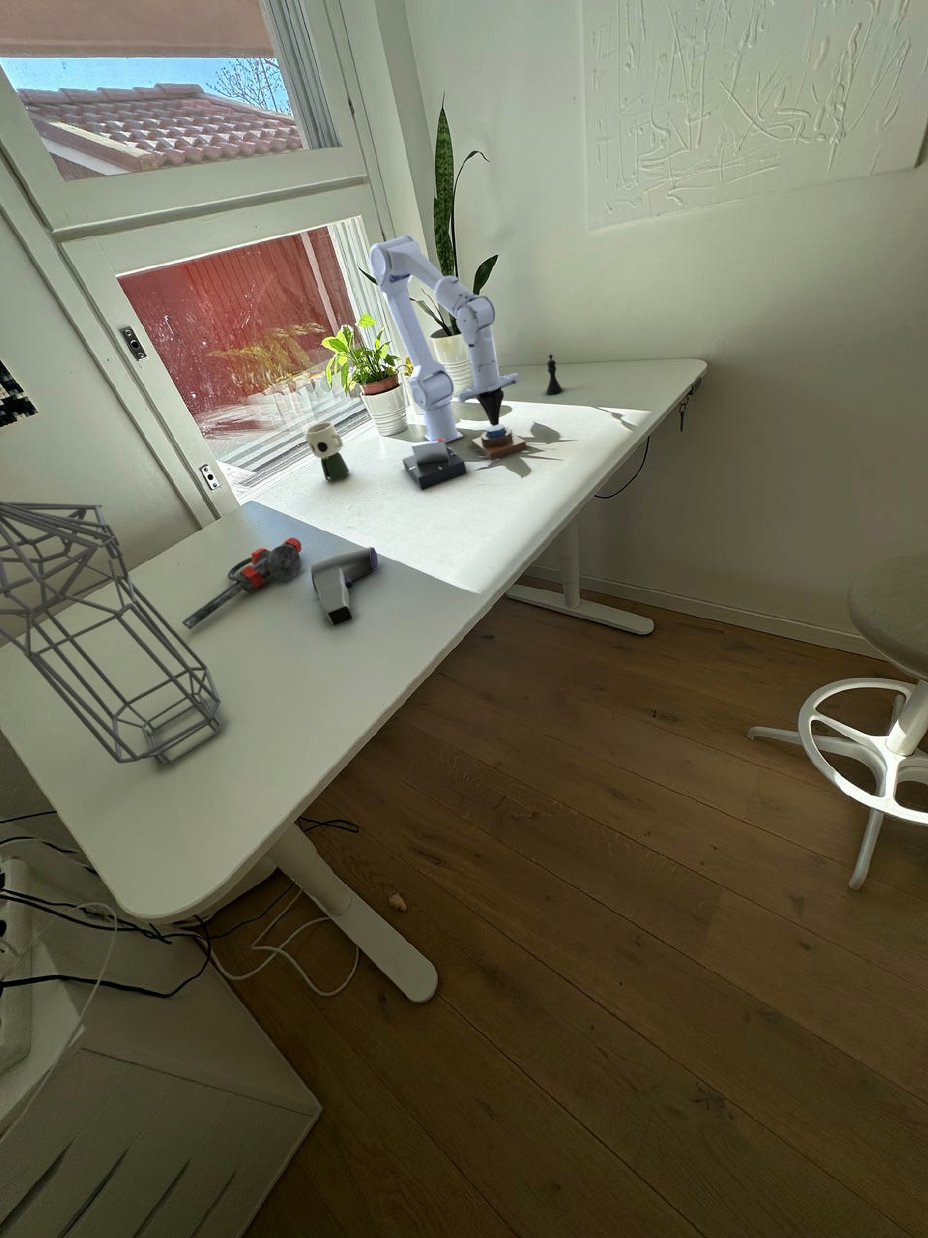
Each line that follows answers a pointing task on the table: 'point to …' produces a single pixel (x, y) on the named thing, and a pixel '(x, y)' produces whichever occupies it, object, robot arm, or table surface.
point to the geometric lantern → (43, 522)
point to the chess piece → (553, 378)
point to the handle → (430, 451)
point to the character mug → (327, 449)
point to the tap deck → (434, 470)
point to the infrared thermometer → (340, 580)
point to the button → (495, 431)
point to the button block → (498, 444)
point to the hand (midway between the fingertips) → (494, 424)
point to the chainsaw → (255, 575)
